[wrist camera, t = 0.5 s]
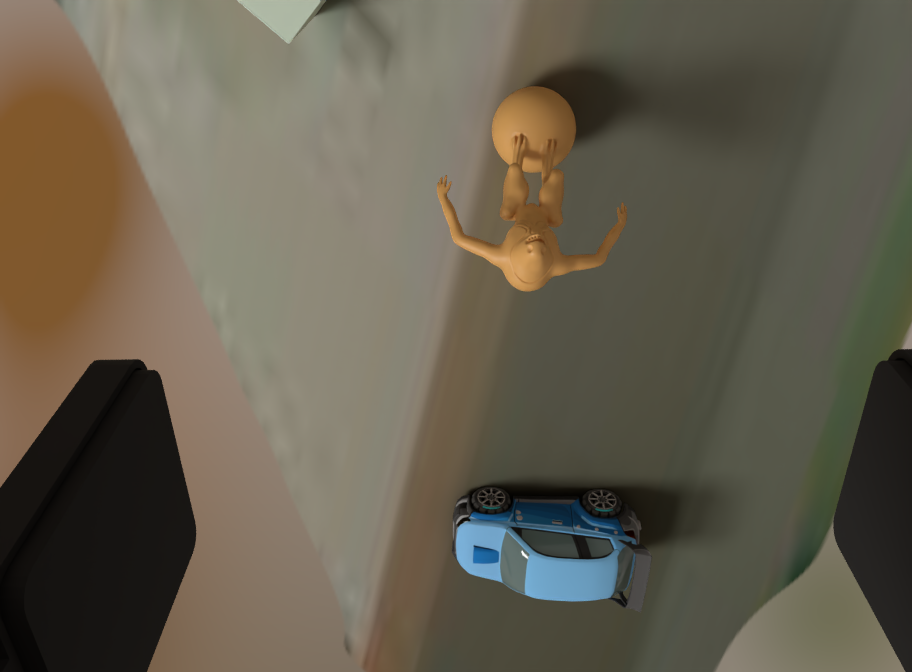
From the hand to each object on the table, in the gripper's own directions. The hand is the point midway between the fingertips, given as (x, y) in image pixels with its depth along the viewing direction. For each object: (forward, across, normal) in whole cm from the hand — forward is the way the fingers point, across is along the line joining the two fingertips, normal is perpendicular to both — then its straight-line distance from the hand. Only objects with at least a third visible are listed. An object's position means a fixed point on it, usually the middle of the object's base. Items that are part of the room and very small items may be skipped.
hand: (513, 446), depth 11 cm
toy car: (+33, -4, +32) cm, 46 cm away
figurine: (+33, -2, +6) cm, 33 cm away
